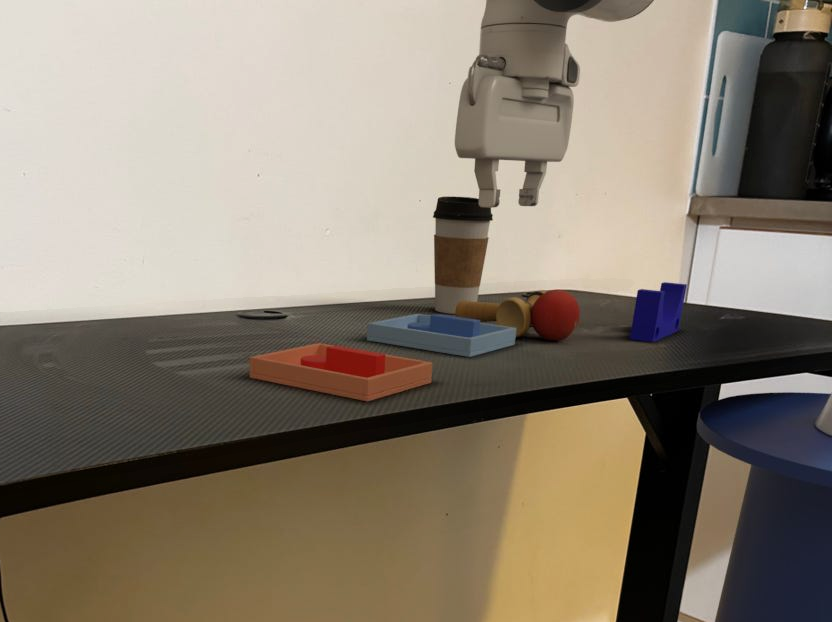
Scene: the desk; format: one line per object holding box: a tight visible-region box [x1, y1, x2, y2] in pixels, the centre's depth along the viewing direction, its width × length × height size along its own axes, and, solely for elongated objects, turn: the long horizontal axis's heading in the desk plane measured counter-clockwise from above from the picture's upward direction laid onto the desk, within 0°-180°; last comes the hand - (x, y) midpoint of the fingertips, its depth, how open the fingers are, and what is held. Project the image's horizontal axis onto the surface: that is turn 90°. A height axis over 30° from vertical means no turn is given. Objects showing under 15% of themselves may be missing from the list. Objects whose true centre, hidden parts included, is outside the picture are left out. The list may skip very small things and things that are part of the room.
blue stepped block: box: [407, 313, 481, 338], centre depth 116 cm, size 9×4×3 cm, turn 54°
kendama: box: [454, 289, 581, 342], centre depth 123 cm, size 8×6×18 cm
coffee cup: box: [432, 196, 494, 315], centre depth 137 cm, size 8×8×15 cm
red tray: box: [249, 342, 434, 402], centre depth 95 cm, size 14×11×2 cm
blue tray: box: [366, 313, 517, 358], centre depth 116 cm, size 14×11×2 cm
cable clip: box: [629, 281, 688, 343], centre depth 127 cm, size 12×4×6 cm, turn 148°
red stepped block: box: [301, 345, 386, 378], centre depth 95 cm, size 9×4×3 cm, turn 54°
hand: (508, 206), depth 107 cm, fingers open, 8 cm apart
